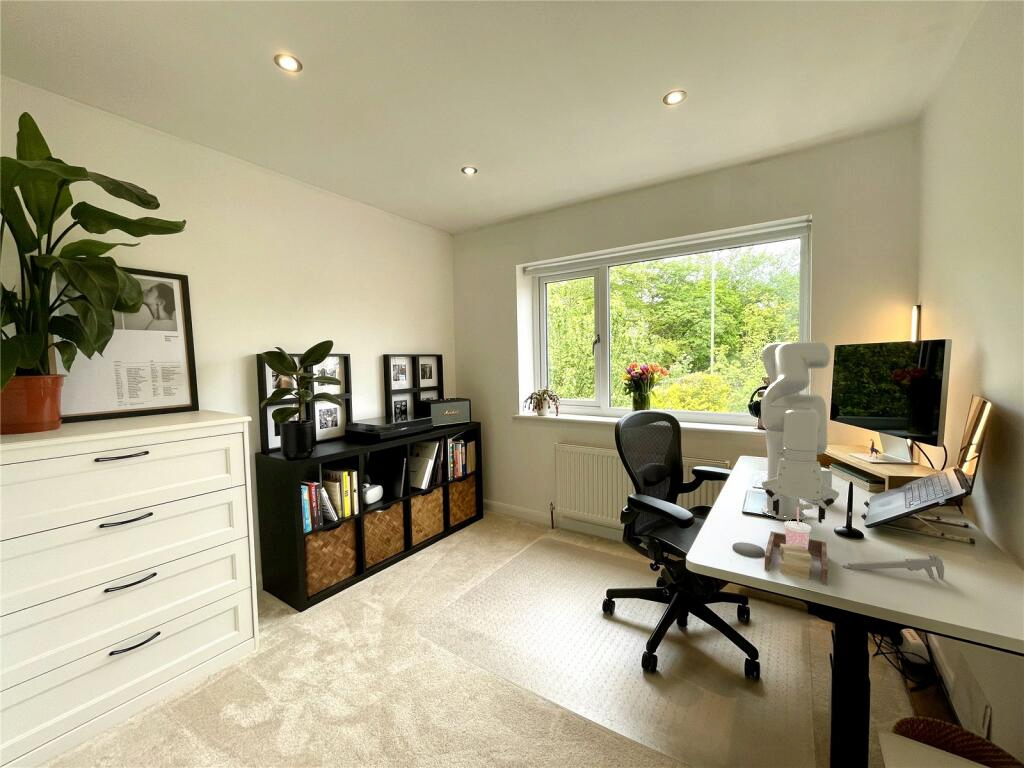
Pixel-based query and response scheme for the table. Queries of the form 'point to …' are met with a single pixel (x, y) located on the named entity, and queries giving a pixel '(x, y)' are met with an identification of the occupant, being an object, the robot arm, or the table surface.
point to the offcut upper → (795, 555)
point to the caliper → (904, 565)
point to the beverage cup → (797, 532)
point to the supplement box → (825, 483)
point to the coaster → (748, 549)
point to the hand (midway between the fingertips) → (798, 517)
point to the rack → (813, 548)
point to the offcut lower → (794, 570)
